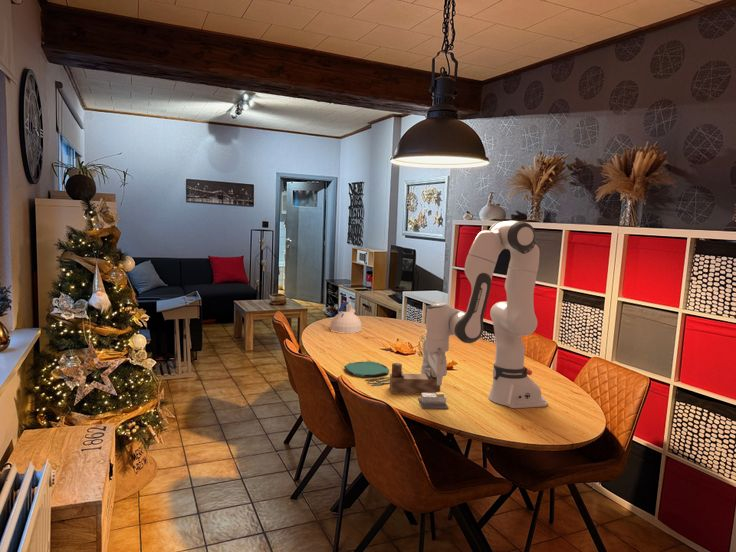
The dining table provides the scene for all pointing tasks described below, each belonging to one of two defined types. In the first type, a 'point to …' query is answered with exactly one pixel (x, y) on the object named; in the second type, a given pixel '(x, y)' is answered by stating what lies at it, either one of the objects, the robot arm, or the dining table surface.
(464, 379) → the dining table surface
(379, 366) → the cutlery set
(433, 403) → the lever cap
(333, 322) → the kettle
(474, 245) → the robot arm
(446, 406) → the rubber mat
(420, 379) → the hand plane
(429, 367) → the plastic bottle
